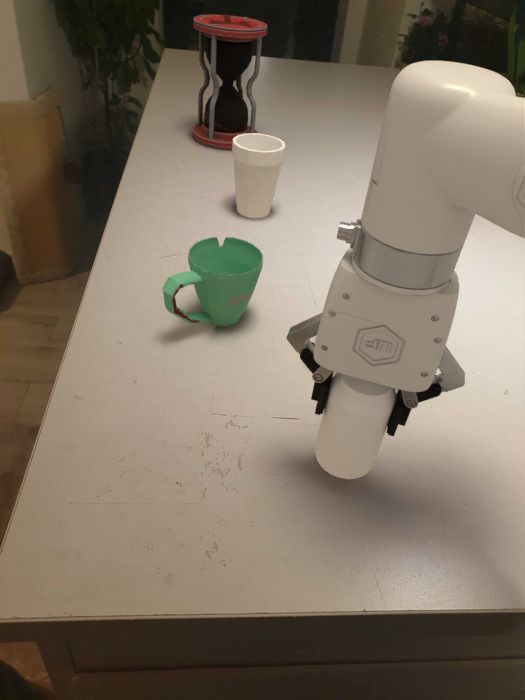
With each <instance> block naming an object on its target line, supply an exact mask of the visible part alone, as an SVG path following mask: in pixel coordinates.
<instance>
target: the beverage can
mask: <svg viewBox="0 0 525 700" xmlns="http://www.w3.org/2000/svg"><path fill="white" fill-rule="evenodd" d="M396 400H397V389H396V388H392V387H388V386H385V385H381V384H377V383H374V382H370V381H366V380H363V379H359V378H355V377H352V376H348V375H344V374H341V373H337V372H335V373H334V374H333V377H332V380H331V383H330V386H329V390H328V395H327V399H326V403H325V407H324V410H323V414H321V415H322V416H321V420H320V424H319V428H318V433H317V437H316V441H315V445H314V454H315V458H316V461H317V462H318V464H319V466H320V467H321V469H323V470H324V471H325V472H327V473H328V474H330V475H332V476H333V477H335V478H339V479H343V480H355V479H359V478H362V477H364V476H366V475H367V474H368V473H369V472H370V471H371V469H372V467H373V465H374V463H375V461H376V459H377V456H378V453H379V451H380V447H381V445H382V442H383V439H384V437H385V434H386V432H387V426H388V423H389V420H390V417H391V415H392V412H393V409H394V406H395V404H396Z"/></svg>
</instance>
